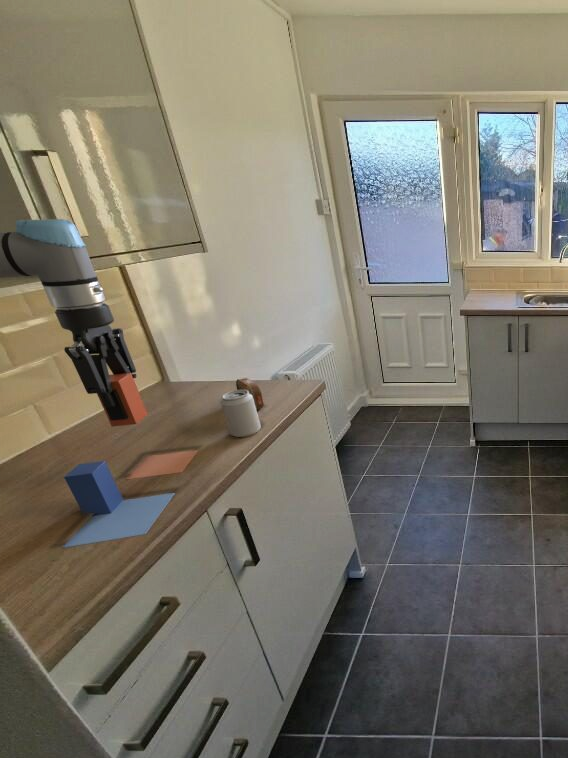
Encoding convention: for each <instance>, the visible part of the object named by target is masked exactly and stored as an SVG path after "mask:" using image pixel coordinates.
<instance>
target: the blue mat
mask: <svg viewBox="0 0 568 758" xmlns="http://www.w3.org/2000/svg"><path fill="white" fill-rule="evenodd" d="M175 494H176V492H171V493H163V494H157V495H150V496H143V497H137V498H130V499H123V501H122V502H121V503H120V504H119V505H118V506H117V507H116V508H115V510H114V511H113V512H112V513H109V514H103V515H96V516H92V515H91V516H90V517H89V518H88V519H87V520H86V521H85V523H84V524H82V526H81V527H80V528H79V529H78V530H77V531H76V532H75V533H74V534H73V535H72V537H71V538H69V540H68V541H67V542H66V543H65V544H64V545H63V546H62V547H61V549H66V548H71V547H78V546H84V545H89V544H95V543H101V542H108V541H114V540H119V539H126V538H127V539H128V538H131V537H133V538H134V537H139V536H144V535H146V534H147V533H148V531H149V530H150V529H151V527H152V526H153V525H154V523H155V522H156V520H157V519H158V518H159V516H160V514H162V512H163V511H164V509H166V506H167V505H169V502H170V501H171V500H172V499H173V497H174V496H175Z"/></svg>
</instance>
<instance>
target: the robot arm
mask: <svg viewBox="0 0 568 758" xmlns="http://www.w3.org/2000/svg"><path fill="white" fill-rule="evenodd" d="M14 225H15V231H7V232H0V279H2V278H3V279H4V278H5V279H6V278H18V277H21V278H22V277H35V276H37V277H38V279H39V280H40V283H41V286H42V288H43V290H44V292H45V295H46V297H47V299H48V301H49V304H50V306H51V307H53V308H56V309H55V311H54V314H55V316H56V318H57V320H58V323H59V325H60V328H62V329H64V330H67V331H69V332H71V334H72V341H73V343H72V345H71V346H66V347H64V349H63V350H64V352H65V353H66V355H67V356H68V357H69V359H70V360H71V362H72V364H73V366H74V368H75V370H76V372H77V374H78V377H79V378H80V381H81V383H82V385H83V388H84V390H85V391H86V393H87V394H88V395H93V394H96V395H97V394H99V396H100V398H101V401H102V403H103V405H104V407H105V408H106V410H107V413H108V415H109V417H110V419H111V420H121V419H127V418H128V416H127V413H126V411H125V409H124V406H123V404H122V402H121V399H120V397H119V394H118V392H117V390H116V389H115V390H113V389H112V385H111V381H110V377H109V375H110V373H109V370H110V372H111V373H112V375H113V374H126V373H131V374H132V376H133V379H136V378H137V373H136V372H137V368H136V365H135V363H134V361H133V359H132V356H131V353H130V351H129V348H128V346H127V343H126V340H125V335H124V331H123V329H122V328H112V327H111V326H110V325H111V324H113V323H114V321H115V318H114V315H113V314H112V311H111V308H110V306H109V305H108V304H107V303H104V302H105V301H106V297H105V294H104V289H103V287H102V286H101V285H100V282H99V278H98V277H97V274H96V271H95V269H94V266H93V264H92V262H91V258H90V256H89V253H88V250H87V245H86V243H84V241H83V239H82V237H81V234H80V233H79V230H78V228H77V226H76V225H75V224H74V222H72V221H70V220H68V219H64V218H50V219H49V218H48V219H45V218H43V219H19V220H17V221H15V223H14Z"/></svg>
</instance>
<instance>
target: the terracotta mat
mask: <svg viewBox="0 0 568 758" xmlns="http://www.w3.org/2000/svg"><path fill="white" fill-rule="evenodd" d="M199 451H200V449H195V450H186V451H185V450H184V451H179V452H178V451H177V452H169V453H162V454H154V455H148V456H147V457H146V458H145V459H144V460H143V461H142V462H141V463H140V464H139V465H138V466H137V468H136V469H135V470H134V471H133V472H131V474H130V475H129V476H128V477H127V478H126V481H127V480H133V479H141V478H147V477H157V476H164V475H170V474H179V473H182V472H184V471H185V469H186V468H187V466H188V465H189V464H190V462H191V461H192V460H193V459H194V457H195V456H196V455H197V453H198V452H199Z"/></svg>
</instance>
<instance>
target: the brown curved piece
mask: <svg viewBox="0 0 568 758" xmlns="http://www.w3.org/2000/svg"><path fill="white" fill-rule="evenodd" d="M235 386H236V390H247V391H249V394H251V395H252V396H253V399H254V403H255V406H256V410H257V411H258V410H261V409H264V404H265V403H264V399H263V393H262V390H261V388H260V386H259V385H258V384H257V383H255V382H254V381H252V380H251V379H249V378H247V377H243V378H237V379H236V382H235Z"/></svg>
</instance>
